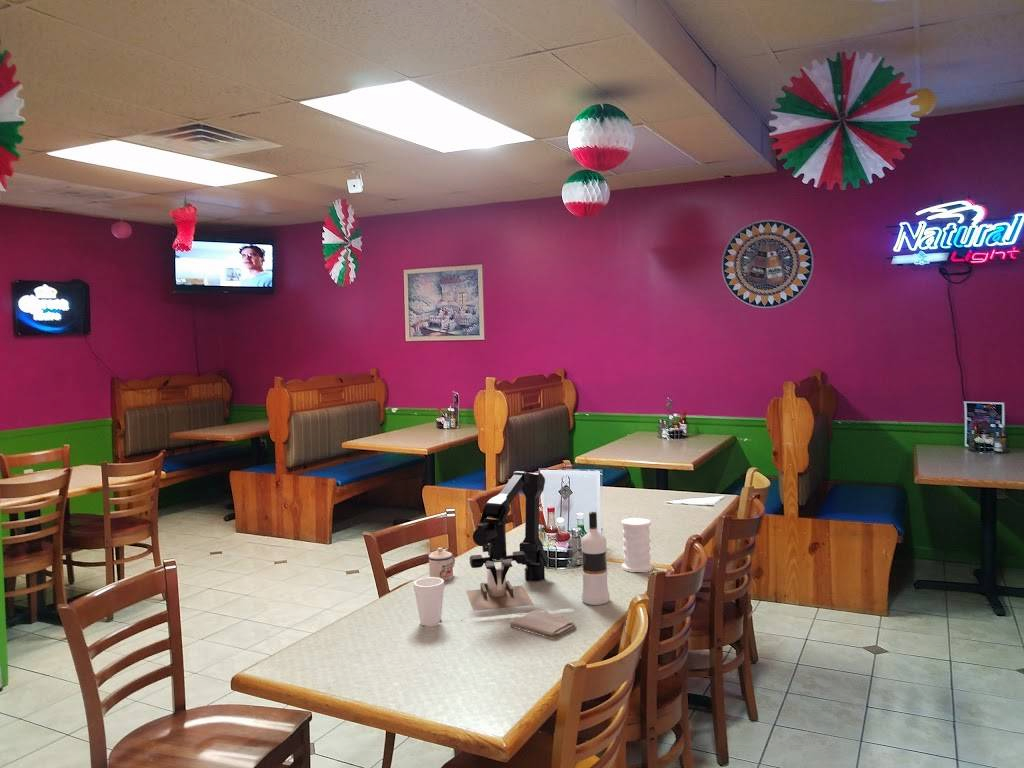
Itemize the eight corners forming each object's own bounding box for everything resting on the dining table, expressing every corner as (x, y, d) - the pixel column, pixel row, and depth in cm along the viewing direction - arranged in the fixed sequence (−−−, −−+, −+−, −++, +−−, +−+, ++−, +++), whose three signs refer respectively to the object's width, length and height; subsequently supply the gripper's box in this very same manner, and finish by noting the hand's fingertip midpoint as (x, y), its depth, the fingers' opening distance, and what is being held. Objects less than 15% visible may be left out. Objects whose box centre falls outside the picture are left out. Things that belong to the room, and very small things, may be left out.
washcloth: (555, 642, 221) (554, 631, 221) (508, 628, 233) (507, 618, 233) (578, 629, 230) (578, 619, 230) (532, 617, 242) (532, 607, 242)
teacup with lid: (442, 584, 276) (440, 552, 276) (424, 580, 282) (422, 549, 281) (463, 575, 286) (462, 544, 285) (446, 571, 291) (444, 541, 291)
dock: (522, 588, 269) (522, 578, 268) (533, 607, 249) (533, 596, 249) (466, 593, 265) (465, 583, 265) (473, 613, 245) (472, 602, 245)
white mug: (486, 591, 264) (485, 565, 263) (504, 589, 265) (503, 564, 264) (490, 600, 254) (489, 574, 253) (509, 598, 255) (508, 572, 254)
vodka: (577, 599, 255) (574, 510, 253) (601, 594, 258) (599, 507, 257) (589, 607, 247) (586, 516, 245) (614, 603, 250) (611, 513, 248)
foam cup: (450, 618, 242) (448, 578, 241) (438, 629, 233) (436, 587, 232) (423, 615, 245) (421, 576, 244) (410, 626, 236) (408, 585, 236)
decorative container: (643, 562, 294) (642, 516, 293) (658, 570, 283) (657, 522, 282) (616, 566, 290) (615, 519, 289) (630, 574, 279) (629, 526, 278)
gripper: (520, 530, 263) (522, 574, 264) (466, 535, 260) (468, 579, 261) (526, 538, 252) (528, 584, 253) (470, 543, 249) (472, 590, 250)
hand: (499, 584), depth 255 cm, fingers closed on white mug
